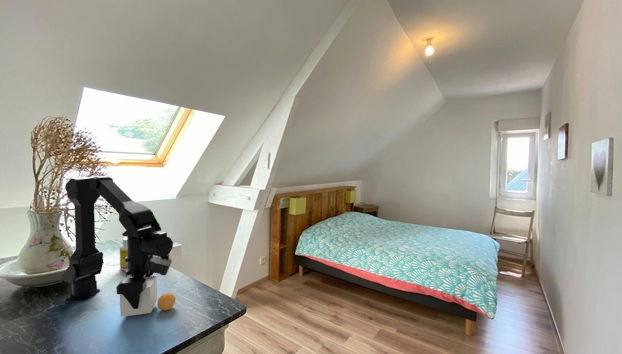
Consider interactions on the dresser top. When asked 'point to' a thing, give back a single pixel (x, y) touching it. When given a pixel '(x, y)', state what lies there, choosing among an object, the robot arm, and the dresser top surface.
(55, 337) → the dresser top surface
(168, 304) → the ball
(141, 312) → the white cube
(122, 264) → the supplement bottle
